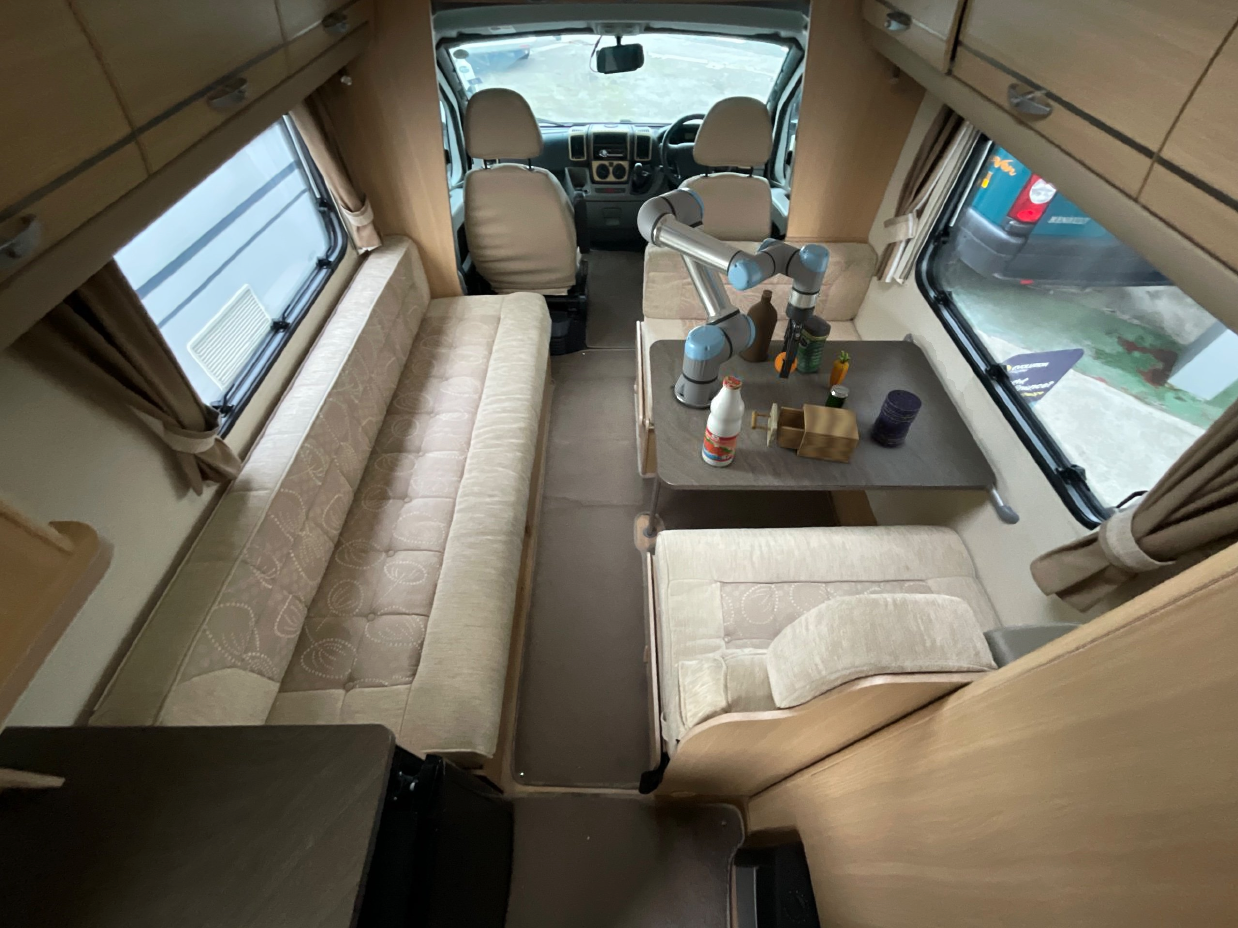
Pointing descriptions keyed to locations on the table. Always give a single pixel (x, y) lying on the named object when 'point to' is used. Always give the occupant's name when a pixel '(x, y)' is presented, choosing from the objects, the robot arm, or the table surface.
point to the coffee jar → (812, 344)
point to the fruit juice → (724, 424)
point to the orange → (779, 362)
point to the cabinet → (828, 433)
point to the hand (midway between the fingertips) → (783, 370)
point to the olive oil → (761, 327)
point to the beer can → (837, 397)
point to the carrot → (839, 370)
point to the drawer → (783, 426)
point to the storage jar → (895, 418)
